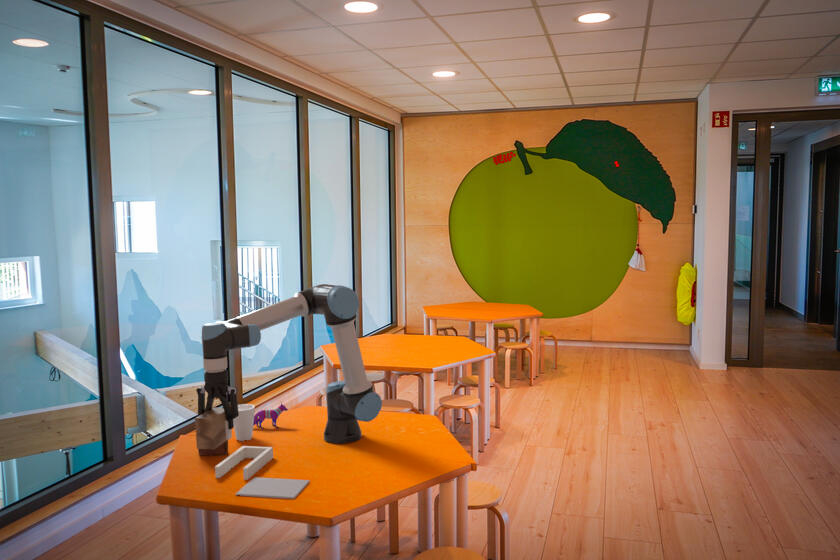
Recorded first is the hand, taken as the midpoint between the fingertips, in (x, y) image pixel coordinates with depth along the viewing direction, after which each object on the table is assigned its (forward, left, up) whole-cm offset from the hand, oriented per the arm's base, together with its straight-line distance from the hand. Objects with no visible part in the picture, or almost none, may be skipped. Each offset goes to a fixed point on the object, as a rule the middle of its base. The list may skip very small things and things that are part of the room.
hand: (219, 438), depth 226 cm
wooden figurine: (+19, -30, -17) cm, 39 cm away
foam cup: (+15, -48, -17) cm, 53 cm away
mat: (-18, -1, -17) cm, 25 cm away
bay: (0, -17, -17) cm, 24 cm away
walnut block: (0, +3, 0) cm, 3 cm away
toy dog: (+12, -63, -17) cm, 66 cm away
